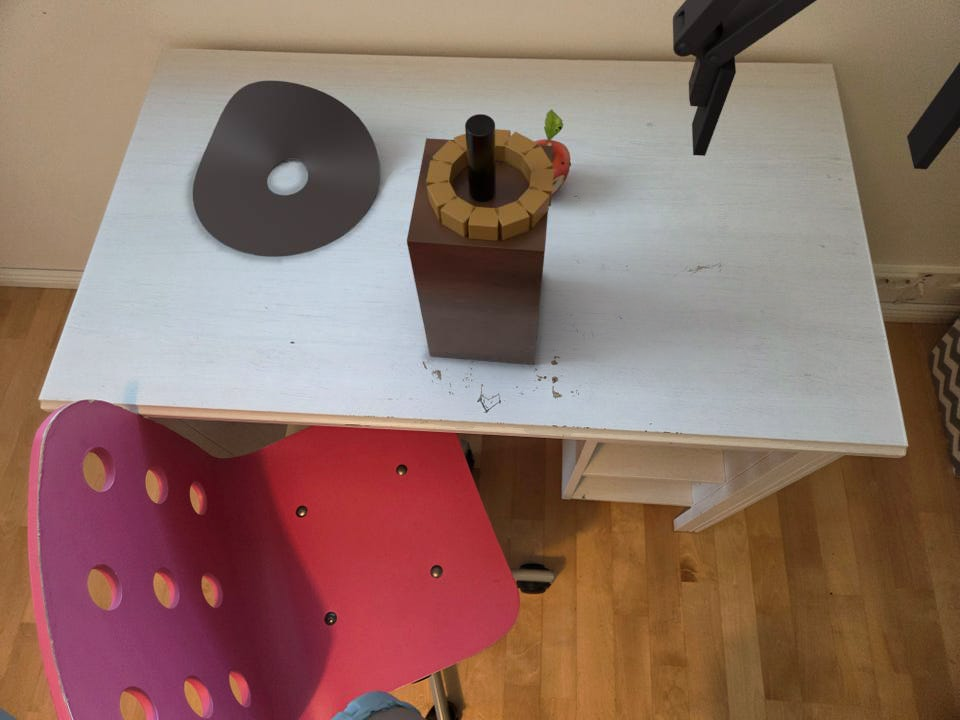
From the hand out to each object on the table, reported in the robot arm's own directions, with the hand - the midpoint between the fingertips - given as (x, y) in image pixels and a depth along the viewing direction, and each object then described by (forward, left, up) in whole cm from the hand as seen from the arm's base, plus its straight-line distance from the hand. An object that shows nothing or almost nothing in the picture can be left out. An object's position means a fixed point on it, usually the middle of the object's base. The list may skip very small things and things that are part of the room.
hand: (805, 146), depth 44 cm
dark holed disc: (+23, +51, -37) cm, 67 cm away
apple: (+27, +17, -37) cm, 49 cm away
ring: (+7, +21, -15) cm, 27 cm away
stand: (+7, +22, -37) cm, 43 cm away
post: (+7, +22, -15) cm, 27 cm away
